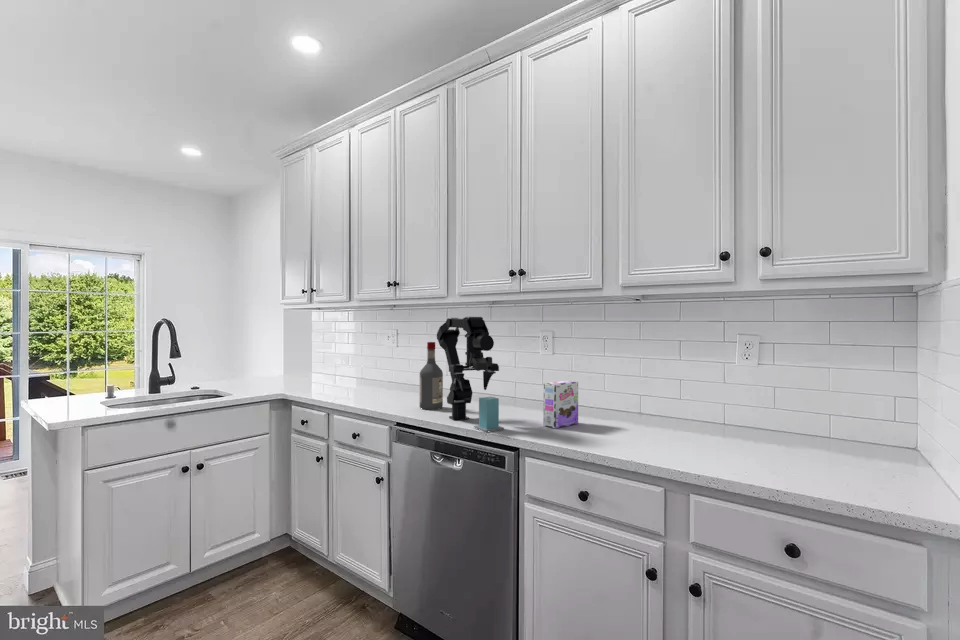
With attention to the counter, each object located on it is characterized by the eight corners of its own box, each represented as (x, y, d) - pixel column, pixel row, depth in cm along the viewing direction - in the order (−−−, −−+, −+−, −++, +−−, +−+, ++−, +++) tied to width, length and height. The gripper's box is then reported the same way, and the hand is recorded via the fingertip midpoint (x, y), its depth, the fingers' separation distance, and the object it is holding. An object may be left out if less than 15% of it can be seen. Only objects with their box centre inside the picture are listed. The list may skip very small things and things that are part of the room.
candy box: (554, 429, 172) (554, 384, 172) (542, 426, 176) (542, 382, 176) (578, 424, 180) (578, 381, 180) (567, 421, 185) (566, 379, 185)
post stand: (473, 428, 173) (473, 415, 173) (491, 425, 177) (491, 413, 177) (485, 432, 166) (485, 419, 166) (504, 429, 170) (504, 416, 170)
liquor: (417, 409, 211) (417, 342, 211) (426, 405, 219) (426, 341, 220) (436, 410, 208) (436, 342, 208) (444, 406, 217) (444, 341, 217)
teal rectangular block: (478, 426, 172) (479, 397, 172) (490, 424, 175) (490, 396, 175) (486, 429, 168) (486, 399, 168) (498, 427, 171) (498, 398, 171)
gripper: (459, 351, 168) (459, 395, 168) (505, 350, 175) (505, 391, 175) (448, 349, 178) (448, 390, 178) (492, 348, 186) (492, 388, 185)
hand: (474, 390), depth 179 cm, fingers open, 9 cm apart
